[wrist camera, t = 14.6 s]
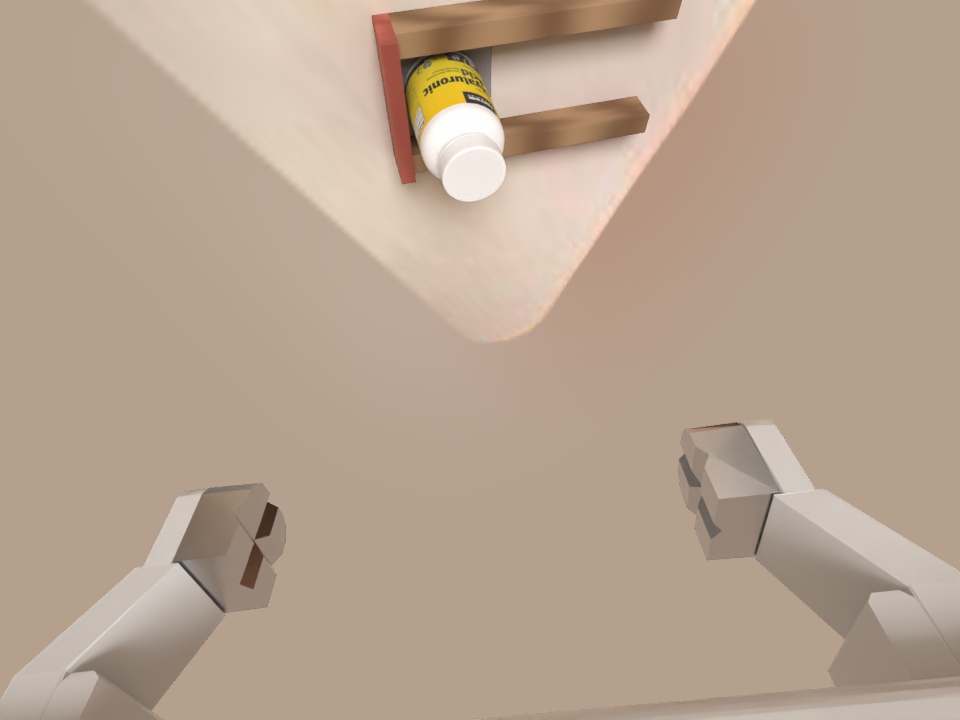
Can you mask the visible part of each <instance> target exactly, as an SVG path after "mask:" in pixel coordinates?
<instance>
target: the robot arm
mask: <svg viewBox="0 0 960 720" xmlns="http://www.w3.org/2000/svg"><path fill="white" fill-rule="evenodd" d="M681 446H682V448H683V451H684V453H685V454H684V455H683V456H682V457H681V458H680V459H679V466H678V475H679V483H680V488H681V492H682V495H683V498H684V501H685V504H686V507H687V508H688V509H689V510H691V511H692V512H693V513H695V514H696V515H697V516H696V523H695V530H696V533H697V535H698V538H699V541H700V543H701V546H702V548H703V551H704V553H705V556H706V559H707V560H718V559H730V558H743V557H756V558H755V559H756V560H757V561H758V562H759V563H760V564H761V565H763V566H764V567H765V568H766V569H767V570H768V571H769V572H771V573H772V574H773V575H774V576H775V577H776V578H777V579H778V580H779V581H780V582H782V583H783V584H784V585H785V586H786V587H787V588H788V589H790V591H792V592H793V593H794V594H795V595H796V596H797V597H798V598H799V599H800V600H802V601H803V602H804V603H805V604H806V605H807V606H808V607H809V608H810V609H812V610H813V611H814V612H815V613H816V614H817V615H818V616H819V617H821V618H822V619H823V620H824V621H825V622H826V623H827V624H828V625H829V626H831V627H832V628H833V629H834V630H835V631H836V632H837V633H838V634H839V635H841V636H842V637H843V638H844V639H845V641H844V643H843V644H842V646H841V648H840V650H839V651H838V653H837V655H836V657H835V659H834V661H833V662H832V664H831V666H830V668H829V669H828V672H829V674H830V676H831V678H832V680H833V682H834V685H835V687H829V688H818V689H806V690H795V691H784V692H773V693H761V694H750V695H738V696H727V697H716V698H705V699H694V700H682V701H670V702H659V703H648V704H636V705H626V706H614V707H603V708H591V709H580V710H570V711H557V712H546V713H536V714H524V715H512V716H501V717H490V718H479V719H467V720H960V571H958V570H956V569H955V568H953V567H952V566H950V565H948V564H947V563H945V562H943V561H941V560H940V559H938V558H937V557H935V556H934V555H932V554H930V553H928V552H927V551H925V550H924V549H922V548H920V547H919V546H917V545H915V544H914V543H912V542H910V541H909V540H907V539H906V538H904V537H902V536H901V535H899V534H897V533H896V532H894V531H892V530H891V529H889V528H888V527H886V526H884V525H883V524H881V523H879V522H878V521H876V520H874V519H873V518H871V517H869V516H868V515H866V514H864V513H863V512H861V511H860V510H858V509H856V508H855V507H853V506H852V505H850V504H848V503H847V502H845V501H843V500H842V499H840V498H838V497H837V496H835V495H833V494H832V493H830V492H829V491H827V490H825V489H818V490H815V488H814V486H813V485H812V483H811V482H810V480H809V478H808V477H807V475H806V474H805V472H804V470H803V469H802V467H801V466H800V464H799V463H798V461H797V459H796V458H795V456H794V454H793V453H792V451H791V450H790V448H789V446H788V445H787V443H786V441H785V440H784V438H783V437H782V435H781V434H780V432H779V430H778V429H777V427H776V425H775V424H774V422H772V421H771V420H769V419H762V420H754V421H746V422H740V423H737V422H735V423H728V424H720V425H714V426H706V427H699V428H691V429H685V430H684V431H683V433H682V436H681ZM268 497H269V492H268V491H267V489H266V488H265V486H264V485H263V484H262V483H261V484H260V483H259V484H258V483H255V484H245V485H235V486H224V487H214V488H206V489H197V490H188V491H184V492H183V493H182V494H181V495H179V496H178V497H177V499H176V501H175V503H174V505H173V507H172V509H171V511H170V513H169V515H168V517H167V519H166V521H165V523H164V525H163V528H162V530H161V532H160V534H159V536H158V538H157V540H156V542H155V544H154V546H153V548H152V550H151V552H150V554H149V556H148V558H147V560H146V563H145V564H144V566H143V567H136V568H135V569H134V570H133V571H132V572H130V573H129V574H128V575H127V576H126V577H125V578H124V579H123V580H122V581H120V582H119V583H118V584H117V585H116V586H115V587H114V588H113V589H111V590H110V591H109V592H108V593H107V594H106V595H105V596H104V597H102V598H101V599H100V600H99V601H98V602H97V603H96V604H95V605H93V606H92V607H91V608H90V609H89V610H88V611H87V612H86V613H84V614H83V615H82V616H81V617H80V618H79V619H78V620H77V621H75V622H74V623H73V624H72V625H71V626H70V627H69V628H68V629H67V630H65V631H64V632H63V633H62V634H61V635H60V636H59V637H58V638H56V639H55V640H54V641H53V642H52V643H51V644H50V645H49V646H47V647H46V648H45V649H44V650H43V651H42V652H41V653H40V654H38V655H37V656H36V657H35V658H34V659H33V660H32V661H31V662H30V663H28V664H27V665H26V666H25V667H24V668H23V669H22V670H21V671H19V672H18V673H17V674H16V675H15V676H14V677H13V679H12V681H11V683H10V684H9V686H8V688H7V689H6V691H5V693H4V694H3V696H2V698H1V700H0V720H164V719H162V718H161V717H159V716H158V715H157V714H155V713H154V712H152V709H153V708H154V707H155V705H156V704H157V703H158V702H159V700H160V699H161V698H162V696H163V695H164V694H165V693H166V691H167V690H168V689H169V687H170V686H171V685H172V684H173V682H174V681H175V680H176V678H177V677H178V676H179V675H180V673H181V672H182V671H183V669H184V668H185V667H186V665H187V664H188V663H189V662H190V661H191V659H192V658H193V657H194V655H195V654H196V653H197V652H198V650H199V649H200V647H201V646H202V645H203V644H204V643H205V641H206V640H207V639H208V637H209V636H210V635H211V634H212V632H213V631H214V630H215V628H216V627H217V626H218V625H219V623H220V622H221V621H222V620H223V618H224V617H225V613H228V612H236V611H243V610H251V609H258V608H265V607H268V603H269V600H270V596H271V593H272V589H273V586H274V582H275V579H276V573H275V571H274V568H273V566H272V564H273V563H274V562H275V561H276V560H277V559H278V558H279V557H280V556H281V555H282V553H283V549H284V545H285V542H286V524H285V521H284V517H283V514H282V513H281V511H280V509H279V508H278V507H276V506H275V505H273V504H271V503H269V502H267V500H268Z"/></svg>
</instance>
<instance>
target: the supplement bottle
mask: <svg viewBox="0 0 960 720" xmlns="http://www.w3.org/2000/svg"><path fill="white" fill-rule="evenodd" d="M404 94H405V102H406V106H407V109H408V113H409V116H410V119H411V123H412V126H413V129H414V132H415V136H416V139H417V142H418V146H419V149H420V152H421V155H422V158H423V161H424V163H425V165H426V167H427V168H428V170H429V171H430V172H431V173H432V174H433V175H434V176H435V177H437V178H438V179H440V180H441V181H442V184H443V187H444V189H445V191H446V192H447V193H448V194H449V195H450V196H451V197H453V198H454V199H456V200H459V201H464V202H473V201H478V200H482V199H484V198H486V197H488V196H490V195H491V194H493V193H494V192H495V191H496V190H497V189H498V188H499V187H500V186H501V184H502V182H503V180H504V178H505V175H506V164H505V160H504V158H503V156H502V153H503V149H504V131H503V128H502V125H501V122H500V120H499V117H498V115H497V113H496V110H495V108H494V106H493V104H492V101H491V99H490V97H489V95H488V92H487V90H486V88H485V86H484V83H483V81H482V79H481V77H480V74H479V72H478V70H477V69H476V67H475V65H474V64H473V62H472V61H471V60H470V59H469V58H468V57H467V56H465V55H464V54H462V53H460V52H458V51H454V52H447V53H441V54H434V55H427V56H421V57H420V58H419V59H417V60H416V61H415V62H414V63H413V65H412V66H411V68H410V69H409V71H408V73H407V75H406V78H405V82H404Z"/></svg>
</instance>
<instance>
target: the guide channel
mask: <svg viewBox="0 0 960 720" xmlns="http://www.w3.org/2000/svg"><path fill="white" fill-rule="evenodd" d="M681 2H682V0H483V1H475V2H468V3H461V4H453V5H446V6H439V7H431V8H424V9H417V10H409V11H402V12H395V13H387V14H380V15H373V16H372V20H373V26H374V32H375V39H376V45H377V51H378V57H379V63H380V70H381V76H382V82H383V88H384V95H385V101H386V107H387V113H388V119H389V126H390V132H391V138H392V144H393V151H394V156H395V159H396V163H397V167H398V170H399V174H400V178H401V181H402V184H406V183H411V182H416V180H415V172H421V171H427V170H428V168H427V167H426V165H425V163H424V161H423V158H422V155H421V152H420V149H419V146H418V142H417V139H416V136H415V132H414V129H413V126H412V123H411V119H410V116H409V113H408V109H407V106H406V102H405V94H404V82H405V78H406V75H407V73H408V71H409V69H410V68H411V66H412V65H413V63H414V62H415V61H416V60H417V59H419V58H420V57H421V56H427V55H434V54H441V53H447V52H454V51H458V52H460V53H462V54H464V55H465V56H467V57H468V58H469V59H470V60H471V61H472V62H473V64H474V65H475V67H476V69H477V70H478V72H479V74H480V77H481V79H482V81H483V83H484V86H485V88H486V90H487V92H488V95H489V97H491V46H495V45H501V44H508V43H515V42H522V41H528V40H535V39H542V38H549V37H556V36H562V35H569V34H576V33H583V32H589V31H596V30H603V29H610V28H616V27H623V26H630V25H637V24H643V23H650V22H657V21H664V20H671V19H677V16H678V13H679V9H680V5H681ZM649 116H650V115H649V113H648V112H647V110H646V109H645V108H644V106H643V105H642V103H641V102H640V100H639V99H638V97H637V96H635V97H629V98H623V99H616V100H610V101H604V102H598V103H592V104H586V105H580V106H574V107H568V108H562V109H556V110H550V111H544V112H538V113H532V114H526V115H520V116H514V117H508V118H502V119H499V120H500V122H501V125H502V128H503V131H504V149H503V153H502V156H503V157H507V156H512V155H518V154H524V153H530V152H535V151H541V150H547V149H552V148H558V147H564V146H570V145H575V144H581V143H587V142H592V141H598V140H604V139H609V138H615V137H621V136H627V135H632V134H638V133H644V132H645V130H646V126H647V123H648V119H649Z"/></svg>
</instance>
